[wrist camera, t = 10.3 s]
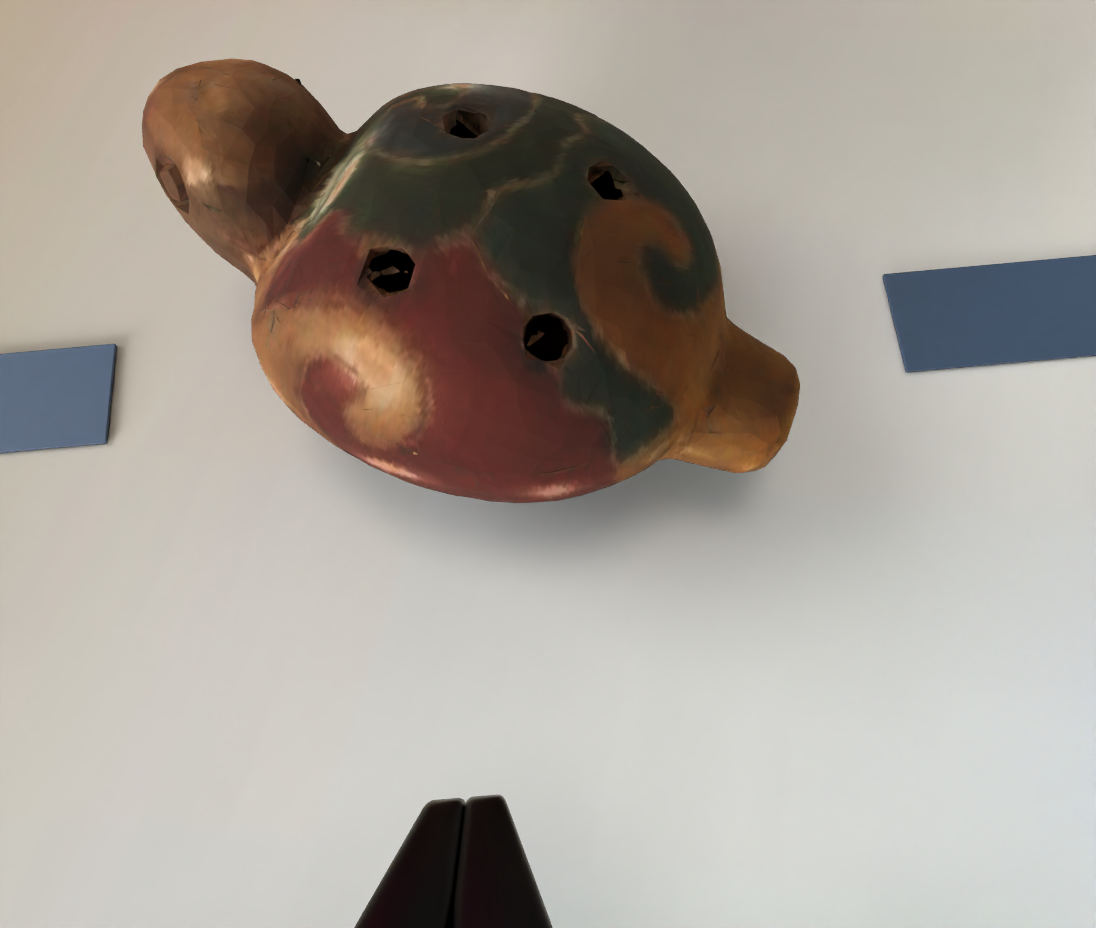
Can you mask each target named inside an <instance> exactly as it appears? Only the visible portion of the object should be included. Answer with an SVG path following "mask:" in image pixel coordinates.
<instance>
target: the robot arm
mask: <svg viewBox="0 0 1096 928" xmlns="http://www.w3.org/2000/svg"><path fill="white" fill-rule="evenodd" d="M354 928H552V925H551V922H550V919H549V917H548V914H547V911H546V909H545V906H544V903H543V900H542V898H541V895H540V892H539V890H538V887H537V884H536V882H535V879H534V876H533V873H532V871H531V868H530V865H529V863H528V860H527V857H526V854H525V852H524V849H523V846H522V844H521V841H520V838H519V836H518V833H517V830H516V827H515V825H514V822H513V819H512V817H511V814H510V811H509V809H508V806H507V803H506V801H505V799H504V798H503V796H501V795H488V796H476V797H471V798H469V799H468V800H467V802H465V801H464V800H463V799H461V798H453V799H441V800H433V801H430V802H428V803H427V804H426V805H425V806H424V808H423V809H422V811H421V813H420V815H419V816H418V818H417V820H416V821H415V823H414V825H413V827H412V828H411V830H410V832H409V834H408V835H407V837H406V839H405V841H404V842H403V844H402V846H401V848H400V849H399V851H398V853H397V854H396V856H395V858H394V860H393V861H392V863H391V865H390V867H389V868H388V870H387V872H386V874H385V875H384V877H383V879H382V881H381V882H380V884H379V886H378V887H377V889H376V891H375V893H374V894H373V896H372V898H371V900H370V901H369V903H368V905H367V907H366V908H365V910H364V912H363V913H362V915H361V917H360V919H359V920H358V922H357V924H356V926H355V927H354Z"/></svg>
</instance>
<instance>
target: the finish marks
mask: <svg viewBox="0 0 1096 928" xmlns="http://www.w3.org/2000/svg"><path fill="white" fill-rule="evenodd" d="M883 279H884V283H885V288H886V292H887V296H888V300H889V304H890V308H891V312H892V316H893V320H894V325H895V329H896V333H897V337H898V341H899V345H900V349H901V353H902V357H903V362H904V366H905V370H906V372H914V371H925V370H936V369H947V368H958V367H970V366H981V365H992V364H1003V363H1015V362H1026V361H1037V360H1048V359H1059V358H1071V357H1082V356H1093V355H1096V255H1092V256H1081V257H1070V258H1059V259H1048V260H1037V261H1026V262H1015V263H1004V264H992V265H981V266H970V267H959V268H948V269H937V270H926V271H915V272H904V273H893V274H884V275H883ZM116 346H117V345H116V344H107V345H95V346H84V347H73V348H62V349H51V350H40V351H29V352H18V353H7V354H0V453H4V452H16V451H27V450H38V449H49V448H61V447H72V446H83V445H94V444H105V443H107V438H108V428H109V418H110V408H111V397H112V387H113V377H114V367H115V357H116Z"/></svg>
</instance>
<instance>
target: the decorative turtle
mask: <svg viewBox="0 0 1096 928" xmlns="http://www.w3.org/2000/svg"><path fill="white" fill-rule="evenodd" d="M142 133H143V147H144V149H145V151H146V153H147V156H148V158H149V160H150V162H151V164H152V167H153V169H154V171H155V174H156V177H157V179H158V181H159V182H160V184H161V186H162V188H163V190H164V192H165V193H166V195H167V197H168V198H169V199H170V201H171V202H172V203H173V205H174V206H175V208H176V209H177V210H178V212H179V213H180V214H181V216H182V217H183V219H184V220H185V221H186V222H187V223H188V225H189V226H190V227H191V228H192V229H193V230H194V231H195V232H196V233H197V234H198V235H199V236H200V237H201V238H202V239H203V240H204V241H205V242H206V243H207V244H208V245H209V246H210V247H211V248H212V249H213V250H214V251H215V252H216V253H217V254H219V255H220V256H221V257H222V258H224V259H225V260H226V261H228V262H229V263H230V264H232V265H233V266H234V267H236V268H237V269H239V270H240V271H242V272H243V273H244V274H245V275H246V276H248V277H249V278H250V279H251V280H252V281H253V282H254V283H255V285H256V291H255V307H254V311H253V315H252V320H251V322H252V342H253V345H254V348H255V350H256V353H257V356H258V358H259V361H260V363H261V366H262V369H263V371H264V373H265V375H266V376H267V378H268V380H269V382H270V384H271V385H272V387H273V389H274V390H275V392H276V393H277V394H278V395H279V397H280V398H281V399H282V400H283V402H284V403H285V404H286V405H287V406H288V407H289V408H290V410H291V411H292V412H293V413H294V414H295V415H296V416H297V417H298V418H299V419H300V420H302V421H303V422H304V423H305V424H307V425H308V426H309V427H311V428H312V429H313V430H315V431H316V432H317V433H319V434H320V435H322V436H323V437H324V438H326V439H327V440H328V441H330V442H331V443H332V444H334V445H336V446H337V447H339V448H340V449H342V450H343V451H345V452H347V453H348V454H350V455H352V456H354V457H356V458H358V459H360V460H361V461H363V462H365V463H366V464H368V465H369V466H372V467H374V468H376V469H378V470H381V471H383V472H385V473H388V474H390V475H392V476H394V477H397V478H399V479H401V480H404V481H406V482H409V483H412V484H415V485H417V486H420V487H424V488H427V489H431V490H435V491H439V492H443V493H447V494H452V495H457V496H464V497H470V498H476V499H481V500H486V501H495V502H511V503H530V502H546V501H558V500H563V499H567V498H572V497H577V496H581V495H584V494H587V493H590V492H594V491H597V490H600V489H603V488H606V487H609V486H611V485H614V484H616V483H618V482H620V481H623V480H625V479H627V478H629V477H632V476H634V475H635V474H637V473H639V472H641V471H643V470H645V469H646V468H648V467H650V466H651V465H652V464H654V463H655V462H656V461H658V460H661V459H667V458H671V459H677V460H681V461H685V462H689V463H693V464H698V465H702V466H706V467H710V468H715V469H719V470H724V471H729V472H734V473H742V472H750V471H756V470H758V469H761V468H763V467H765V466H766V465H767V464H768V463H769V462H770V461H771V460H772V459H773V458H774V457H775V455H776V454H777V453H778V451H779V450H780V449H781V447H782V446H783V445H784V443H785V442H786V441H787V438H788V434H789V431H790V428H791V425H792V422H793V419H794V416H795V413H796V409H797V406H798V399H799V390H800V382H799V378H798V374H797V371H796V368H795V367H794V365H793V364H792V363H791V362H790V361H789V360H788V359H787V358H786V357H785V356H784V355H782V354H780V353H779V352H777V351H775V350H774V349H772V348H770V347H769V346H767V345H765V344H763V343H762V342H760V341H759V340H757V339H755V338H754V337H752V336H751V335H749V334H748V333H746V332H744V331H743V330H741V329H740V328H738V327H737V326H736V325H735V324H733V323H732V322H731V321H730V320H729V319H728V318H727V316H726V311H725V302H724V293H723V284H722V275H721V267H720V263H719V260H718V256H717V253H716V249H715V246H714V242H713V239H712V236H711V234H710V231H709V229H708V227H707V225H706V223H705V221H704V219H703V217H702V215H701V213H700V211H699V209H698V207H697V205H696V204H695V202H694V201H693V199H692V198H691V196H690V195H689V193H688V192H687V191H686V189H685V188H684V187H683V185H682V184H681V183H680V182H679V180H678V179H677V178H676V177H675V176H674V175H673V174H672V172H671V171H670V170H669V169H668V168H667V167H666V166H665V165H663V164H662V163H661V162H660V161H659V160H658V159H657V158H656V157H655V156H653V155H652V154H651V153H650V152H649V151H648V150H647V149H646V148H644V147H643V146H642V145H641V144H639V143H638V142H637V141H635V140H634V139H633V138H631V137H630V136H629V135H627V134H626V133H624V132H623V131H621V130H620V129H618V128H616V127H615V126H613V125H612V124H610V123H608V122H606V121H605V120H603V119H601V118H599V117H597V116H596V115H594V114H592V113H590V112H588V111H585V110H583V109H581V108H579V107H577V106H574V105H572V104H569V103H566V102H564V101H561V100H558V99H555V98H552V97H547V96H544V95H541V94H537V93H530V92H527V91H523V90H520V89H515V88H509V87H502V86H494V85H483V84H469V83H457V84H444V85H438V86H431V87H426V88H422V89H417V90H414V91H411V92H408V93H406V94H403V95H401V96H398V97H396V98H394V99H392V100H391V101H389V102H388V103H386V104H385V105H383V106H382V107H381V108H380V109H379V110H378V111H377V112H376V113H374V114H373V115H372V116H371V117H370V118H369V119H368V120H367V121H366V122H365V123H364V124H363V125H362V126H361V127H360V128H359V129H358V130H357V131H355V132H352V133H349V134H346V133H345V132H343V131H341V130H340V129H339V128H338V126H337V125H336V124H335V122H334V121H333V120H332V118H331V117H330V116H329V114H328V113H327V112H326V110H325V109H324V108H323V107H322V106H321V104H320V103H319V102H318V101H317V100H316V99H315V98H314V97H313V96H312V95H311V94H310V92H309V91H308V90H307V89H306V88H305V87H304V86H303V85H301V82H300V79H295V80H294V79H293V78H291V77H290V76H289V75H287V74H285V73H283V72H281V71H278V70H276V69H274V68H272V67H270V66H267V65H265V64H262V63H259V62H256V61H253V60H242V59H224V60H215V61H206V62H199V63H196V64H192V65H189V66H185V67H182V68H178V69H176V70H174V71H173V72H171V73H170V74H168V75H167V76H165V77H163V78H162V79H160V80H159V82H158V83H157V85H156V86H155V88H154V89H153V90H152V92H151V93H150V95H149V96H148V99H147V102H146V105H145V108H144V111H143V121H142Z"/></svg>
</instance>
